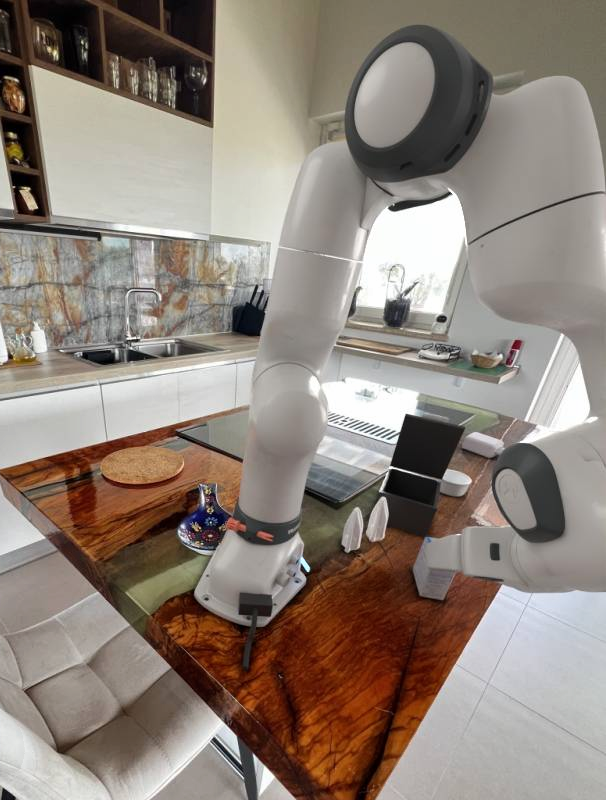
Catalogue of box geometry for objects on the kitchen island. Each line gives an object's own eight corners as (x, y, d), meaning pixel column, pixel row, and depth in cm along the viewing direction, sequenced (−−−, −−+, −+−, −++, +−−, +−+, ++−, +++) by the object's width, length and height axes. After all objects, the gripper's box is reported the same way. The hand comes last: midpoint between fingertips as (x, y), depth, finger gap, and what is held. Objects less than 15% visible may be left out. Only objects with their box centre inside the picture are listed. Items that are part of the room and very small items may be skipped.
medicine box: (443, 601, 77) (460, 566, 72) (418, 596, 77) (434, 561, 73) (434, 574, 83) (449, 539, 79) (411, 569, 84) (425, 535, 79)
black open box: (425, 537, 94) (437, 508, 90) (370, 519, 99) (378, 491, 95) (430, 506, 106) (441, 480, 102) (381, 492, 111) (389, 466, 107)
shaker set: (376, 531, 95) (390, 489, 89) (389, 541, 92) (404, 499, 86) (334, 541, 90) (346, 498, 84) (346, 553, 87) (360, 509, 81)
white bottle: (507, 466, 133) (460, 448, 142) (516, 459, 139) (471, 443, 148) (513, 452, 131) (465, 436, 140) (523, 446, 136) (476, 430, 145)
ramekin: (434, 494, 112) (440, 480, 110) (429, 479, 120) (434, 466, 118) (469, 500, 111) (475, 486, 109) (461, 485, 118) (467, 472, 116)
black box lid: (465, 428, 89) (468, 416, 92) (405, 415, 94) (409, 403, 96) (441, 480, 102) (445, 467, 104) (389, 465, 106) (394, 454, 109)
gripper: (615, 542, 53) (536, 553, 66) (455, 524, 53) (409, 539, 67) (620, 592, 52) (539, 593, 65) (456, 574, 52) (409, 579, 65)
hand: (472, 566), depth 66 cm, fingers open, 8 cm apart
